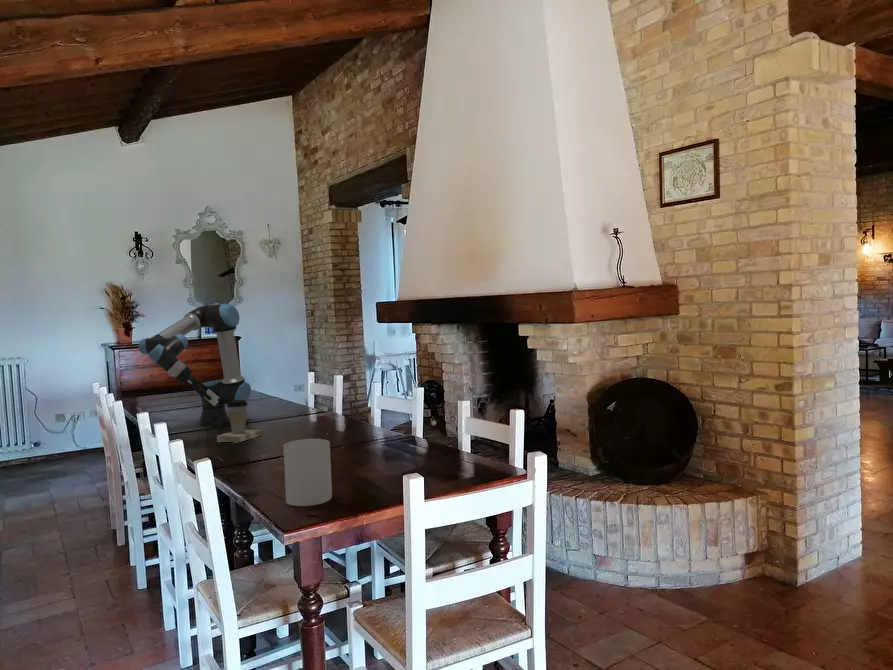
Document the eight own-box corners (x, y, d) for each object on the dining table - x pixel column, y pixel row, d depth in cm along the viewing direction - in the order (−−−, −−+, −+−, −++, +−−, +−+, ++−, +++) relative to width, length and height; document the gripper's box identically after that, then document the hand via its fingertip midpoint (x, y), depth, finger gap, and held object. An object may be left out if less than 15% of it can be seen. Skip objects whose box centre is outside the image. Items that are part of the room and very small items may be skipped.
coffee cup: (225, 433, 305) (223, 401, 305) (245, 430, 311) (243, 399, 310) (232, 435, 298) (230, 403, 297) (252, 432, 304) (250, 401, 303)
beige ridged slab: (241, 435, 314) (240, 429, 314) (260, 436, 309) (260, 430, 309) (217, 442, 299) (216, 435, 299) (237, 443, 295) (237, 437, 294)
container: (296, 509, 196) (293, 451, 195) (278, 498, 208) (275, 443, 207) (339, 499, 204) (337, 443, 204) (320, 490, 216) (317, 436, 215)
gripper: (176, 375, 306) (212, 404, 312) (172, 381, 282) (210, 412, 288) (188, 363, 307) (223, 392, 313) (184, 368, 284) (222, 399, 289)
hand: (217, 401), depth 300 cm, fingers open, 13 cm apart
